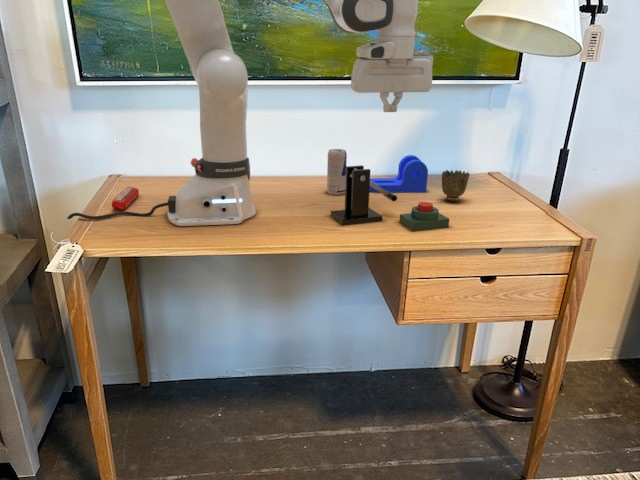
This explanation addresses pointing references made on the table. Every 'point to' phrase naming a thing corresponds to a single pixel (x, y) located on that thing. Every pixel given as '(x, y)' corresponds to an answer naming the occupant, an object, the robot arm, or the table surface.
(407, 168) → the bracket
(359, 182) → the bracket
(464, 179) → the cup
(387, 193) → the lever
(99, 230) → the table surface
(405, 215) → the button block
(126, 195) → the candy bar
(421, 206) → the button
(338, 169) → the energy drink
